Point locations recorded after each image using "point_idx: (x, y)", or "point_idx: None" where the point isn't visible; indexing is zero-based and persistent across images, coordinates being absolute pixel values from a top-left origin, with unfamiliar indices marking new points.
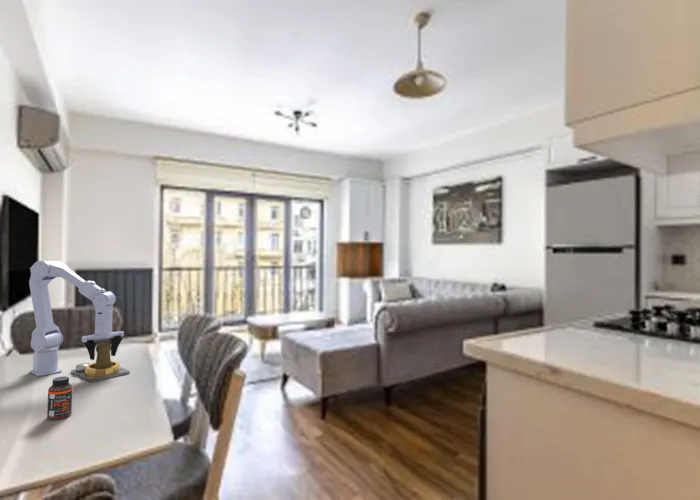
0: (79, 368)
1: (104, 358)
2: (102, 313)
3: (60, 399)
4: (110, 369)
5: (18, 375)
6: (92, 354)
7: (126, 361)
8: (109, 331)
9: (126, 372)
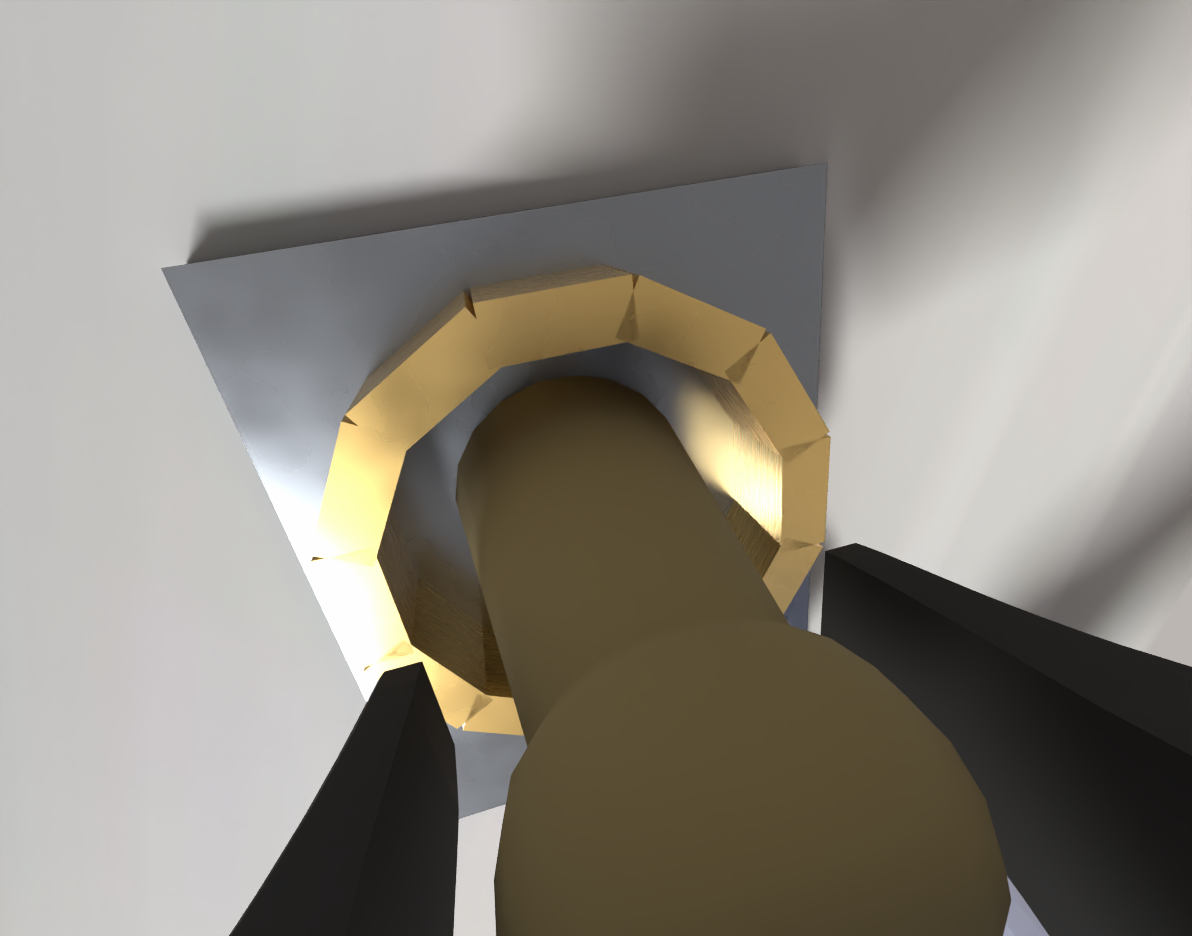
0: None
1: (659, 517)
2: None
3: None
4: (529, 285)
5: None
6: (980, 599)
7: (211, 862)
8: None
9: (234, 259)
